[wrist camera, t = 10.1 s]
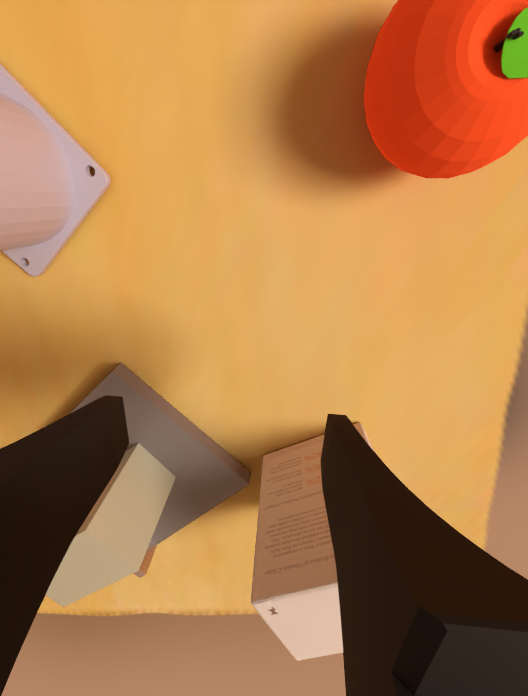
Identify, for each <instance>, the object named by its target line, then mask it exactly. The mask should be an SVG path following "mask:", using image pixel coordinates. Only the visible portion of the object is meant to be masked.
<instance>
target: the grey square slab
mask: <svg viewBox="0 0 528 696" xmlns="http://www.w3.org/2000/svg"><path fill="white" fill-rule="evenodd" d="M105 395H109V396H121V397H123V403H124V410H125V416H126V423H127V430H128V437H129V445H128V447H127V449H126V451H127V450H128V449H130V448H132V447H133V446H135V445H136V444H138V443H139V444H140V445H141V446H143V447H144V448H145V449H146V450H147V451H148V452H149V453H150V454H151V455H152V456H153V457H155V458H156V459H157V460H158V461H159V462H160V463H161V464H162V465H163V466H164V467H165V468H167V469H168V470H169V471H170V472H171V473H172V474H173V475H174V476H175V477H176V478H175V480H174V483H173V485H172V488H171V491H170V493H169V496H168V498H167V501H166V503H165V506H164V508H163V511H162V513H161V516H160V518H159V521H158V523H157V526H156V528H155V531H154V533H153V536H152V538H151V541H150V543H149V546H148V548H147V551H146V553H145V556H144V558H143V561H142V563H141V566H140V568H139V571H137V572H135V573H133V574H135V575H137V576H138V577H140V578H141V577H142V576H144V575H145V574H146V573H147V570H148V568H149V565H150V562H151V560H152V557H153V554H154V552H155V549H156V546H157V544H159V543H160V542H162V541H163V540H165V539H166V538H168V537H169V536H171V535H172V534H174V533H175V532H177V531H178V530H180V529H181V528H183V527H185V526H186V525H188V524H189V523H191V522H192V521H194V520H195V519H197V518H198V517H200V516H201V515H203V514H204V513H206V512H207V511H209V510H210V509H212V508H214V507H215V506H217V505H218V504H220V503H221V502H223V501H224V500H226V499H227V498H229V497H230V496H232V495H233V494H235V493H236V492H238V491H240V490H241V489H243V488H244V487H246V486H247V485H249V481H250V474H251V472H250V471H248V470H247V469H246V468H245V467H244V466H243V465H241V464H240V463H239V462H238V461H237V460H235V459H234V458H233V457H232V456H231V455H230V454H228V453H227V452H226V451H225V450H224V449H222V448H221V447H220V446H219V445H218V444H217V443H215V442H214V441H213V440H212V439H211V438H209V437H208V436H207V435H206V434H205V433H204V432H202V431H201V430H200V429H199V428H198V427H196V426H195V425H194V424H193V423H192V422H191V421H189V420H188V419H187V418H186V417H185V416H183V415H182V414H181V413H180V412H179V411H178V410H176V409H175V408H174V407H173V406H172V405H170V404H169V403H168V402H167V401H166V400H165V399H163V398H162V397H161V396H160V395H159V394H157V393H156V392H155V391H154V390H153V389H152V388H150V387H149V386H148V385H147V384H146V383H145V382H143V381H142V380H141V379H140V378H139V377H137V376H136V375H135V374H134V373H133V372H132V371H130V370H129V369H128V368H127V367H126V366H124V365H123V364H122V363H120V364H119V365H118V366H117V367H116V368H115V369H114V370H113V371H112V372H111V373H110V374H109V375H108V376H107V377H106V378H105V379H104V380H103V381H102V382H101V383H100V384H99V385H98V386H97V387H96V388H95V389H94V390H93V391H92V392H91V393H90V394H89V395H88V396H87V397H86V398H85V399H84V400H83V401H82V402H81V403H80V404H79V405H78V406H77V407H76V408H75V409H74V410H73V411H72V412H74V411H76V410H78V409H80V408H81V407H83V406H85V405H87V404H89V403H91V402H93V401H95V400H97V399H99V398H101V397H103V396H105ZM72 412H71V413H72Z"/></svg>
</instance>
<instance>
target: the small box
mask: <svg viewBox="0 0 528 696" xmlns="http://www.w3.org/2000/svg"><path fill="white" fill-rule="evenodd" d="M353 425H354V427H355V428H356V429H357V431H358V432H359V433H360V434H361V436H362V437H363V438H364V440H365V441H366V442H367V443H368V445H369V446H370V447H371V448H372V445H371V443H370V441H369V439H368V437H367V434H366V432H365V430H364V428H363V426H362V424H361V423H356V424H353ZM324 435H325V434H324ZM324 435H321V436H318V437H315V438H312V439H309V440H306V441H304V442H301V443H298V444H295V445H292V446H289V447H286V448H284V449H281V450H278V451H275V452H272V453H269V454H266V455H264V456H263V460H262V474H261V486H260V499H259V510H258V522H257V535H256V545H255V557H254V570H253V582H252V594H251V603H252V605H253V606H254V608H255V609H256V610H257V612H258V613H259V614H260V615H261V617H262V618H263V619H264V621H265V622H266V623H267V624H268V626H269V627H270V628H271V629H272V631H273V632H274V633H275V634H276V636H277V637H278V638H279V639H280V640H281V642H282V643H283V644H284V646H285V647H286V648H287V649H288V651H289V652H290V653H291V654H292V655H293V657H294V658H295V659H296V660H297V661H299V660H304V659H309V658H314V657H319V656H325V655H331V654H337V653H343V641H342V629H341V616H340V604H339V593H338V582H337V571H336V563H335V556H334V550H333V545H332V539H331V534H330V528H329V523H328V518H327V512H326V507H325V501H324V495H323V490H322V478H321V461H320V459H321V453H322V447H323V441H324ZM372 450H373V448H372ZM373 451H374V450H373Z"/></svg>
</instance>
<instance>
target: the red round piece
mask: <svg viewBox="0 0 528 696" xmlns="http://www.w3.org/2000/svg"><path fill="white" fill-rule="evenodd" d="M364 106H365V115H366V123H367V126H368V128H369V131H370V133H371V136H372V139H373V141H374V144H375V145H376V146H377V148H378V149H379V150H380V152H381V153H382V154H383V156H384V157H385V158H386V160H388V161H389V162H391V163H392V164H393V165H395V166H396V167H398V168H399V169H400V170H402V171H405V172H408V173H411V174H414V175H417V176H421V177H425V178H451V177H455V176H458V175H462V174H466V173H469V172H472V171H475V170H477V169H479V168H481V167H483V166H485V165H487V164H489V163H491V162H493V161H494V160H496V159H498V158H500V157H502V156H504V155H505V154H507V153H508V152H509V151H510V150H511V149H513V148H514V147H515V146H516V145H517V144H518V143H520V142H521V141H522V140H523V139H524V138H525V137H527V136H528V0H398V2H397V3H396V4H395V5H394V7H393V8H392V10H391V12H390V14H389V16H388V17H387V19H386V21H385V23H384V24H383V26H382V28H381V30H380V32H379V33H378V36H377V39H376V42H375V45H374V49H373V52H372V55H371V58H370V61H369V64H368V68H367V72H366V82H365V91H364Z"/></svg>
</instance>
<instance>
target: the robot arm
mask: <svg viewBox="0 0 528 696" xmlns="http://www.w3.org/2000/svg"><path fill="white" fill-rule="evenodd" d="M90 167H93V168H94V169H95V175H94V176H91V174H90V171H89V169H90ZM109 185H110V177H109V175H108V173H107V172H106V171H105V170H104V169H103V168H102V167H101V166H100V165H99V164H98V163H97V162H96V161H95V160H94V159H93V158H92V157H91V156H90V155H89V154H88V153H87V152H86V150H85V149H84V148H83V147H82V146H81V145H80V144H79V143H78V142H77V141H76V140H75V139H74V138H73V137H72V136H71V135H70V134H69V133H68V132H67V131H66V130H65V129H64V128H63V127H62V126H61V125H60V124H59V123H58V122H57V121H56V120H55V119H54V118H53V117H52V116H51V115H50V114H49V113H48V112H47V111H46V110H45V109H44V108H43V106H42V105H41V104H40V103H39V102H38V101H37V100H36V99H35V98H34V97H33V96H32V95H31V94H30V93H29V92H28V91H27V90H26V89H25V88H24V87H23V86H22V85H21V84H20V83H19V82H18V81H17V80H16V79H15V78H14V77H13V76H12V75H11V74H10V73H9V72H8V71H7V70H6V69H5V68H4V67H3V66H2V65H1V64H0V251H2V252H3V253H5V254H6V255H7V256H8V257H9V258H10V259H12V260H13V261H14V262H15V263H16V264H17V265H19V266H20V267H21V268H22V269H23V270H24V271H26V272H27V273H28V274H29V275H31V276H34V277H35V276H39V275H41V274H43V273H44V271H45V270H46V269H47V267H48V266H49V265H50V263H51V262H52V261H53V259H54V258H55V257H56V255H57V254H58V253H59V252H60V250H61V249H62V248H63V246H64V245H65V244H66V242H67V241H68V240H69V238H70V237H71V236H72V234H73V233H74V232H75V230H76V229H77V228H78V227H79V225H80V224H81V223H82V221H83V220H84V219H85V217H86V216H87V215H88V213H89V212H90V211H91V209H92V208H93V207H94V205H95V204H96V203H97V202H98V200H99V199H100V198H101V196H102V195H103V194H104V192H105V191H106V190H107V188H108V187H109ZM25 258H26V259H27V260H28V261H29V265H28V264H27V263H26V262H25ZM128 445H129V437H128V430H127V423H126V416H125V410H124V403H123V397H121V396H109V395H105V396H103V397H101V398H99V399H97V400H95V401H93V402H91V403H89V404H87V405H85V406H83V407H81V408H80V409H78V410H76V411H74V412H72V413H70V414H69V415H67V416H65V417H63V418H61V419H59V420H57V421H56V422H54V423H52V424H50V425H48V426H46V427H44V428H42V429H40V430H38V431H36V432H34V433H32V434H30V435H28V436H26V437H24V438H22V439H20V440H18V441H16V442H14V443H12V444H10V445H8V446H6V447H3V448H1V449H0V696H1V694H2V692H3V690H4V687H5V685H6V682H7V680H8V678H9V675H10V673H11V670H12V668H13V665H14V663H15V661H16V658H17V656H18V654H19V651H20V649H21V647H22V645H23V642H24V640H25V638H26V636H27V633H28V631H29V629H30V627H31V625H32V622H33V620H34V618H35V616H36V614H37V611H38V609H39V607H40V605H41V603H42V601H43V599H44V597H45V595H46V593H47V590H48V588H49V586H50V584H51V582H52V580H53V578H54V576H55V574H56V572H57V570H58V568H59V566H60V564H61V562H62V560H63V558H64V556H65V554H66V552H67V550H68V548H69V547H70V545H71V543H72V541H73V539H74V538H75V536H76V534H77V532H78V531H79V529H80V527H81V526H82V524H83V523H84V521H85V519H86V518H87V516H88V515H89V513H90V512H91V510H92V508H93V507H94V505H95V504H96V502H97V501H98V499H99V497H100V496H101V494H102V493H103V491H104V490H105V488H106V486H107V485H108V483H109V482H110V480H111V478H112V477H113V475H114V474H115V472H116V470H117V469H118V466H119V464H120V462H121V460H122V458H123V456H124V454H125V451H126V449H127V447H128ZM320 461H321V478H322V490H323V495H324V501H325V507H326V512H327V518H328V523H329V528H330V534H331V539H332V545H333V550H334V556H335V563H336V571H337V582H338V593H339V604H340V616H341V629H342V641H343V655H344V671H345V684H346V696H528V580H527V579H526V578H524V577H523V576H521V575H519V574H518V573H516V572H515V571H513V570H511V569H510V568H508V567H507V566H505V565H504V564H502V563H501V562H499V561H498V560H497V559H495V558H494V557H492V556H491V555H489V554H488V553H486V552H485V551H484V550H482V549H481V548H479V547H478V546H477V545H475V544H474V543H473V542H471V541H470V540H468V539H467V538H466V537H464V536H463V535H462V534H460V533H459V532H458V531H457V530H455V529H454V528H453V527H452V526H450V525H449V524H448V523H447V522H445V521H444V520H443V519H442V518H440V517H439V516H438V515H437V514H436V513H434V512H433V511H432V510H431V509H430V508H429V507H427V506H426V505H425V504H424V503H423V502H422V501H421V500H420V499H419V498H418V497H417V496H415V495H414V494H413V493H412V492H411V491H410V490H409V489H408V488H407V487H406V486H405V485H404V484H403V483H402V482H401V481H400V480H399V479H398V478H397V477H396V476H395V475H394V474H393V473H392V472H391V471H390V469H389V468H388V467H387V466H386V465H385V464H384V463H383V462H382V460H381V459H380V458H379V457H378V456H377V454H376V453H375V452H374V451H373V450H372V448H371V447H370V446H369V445H368V443H367V442H366V441H365V440H364V438H363V437H362V436H361V434H360V433H359V432H358V431H357V429H356V428H355V427H354V425H353V424H352V422H351V421H350V420H349V419H348V417H347V416H346V415H336V414H328V417H327V423H326V429H325V435H324V441H323V447H322V453H321V459H320Z"/></svg>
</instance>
